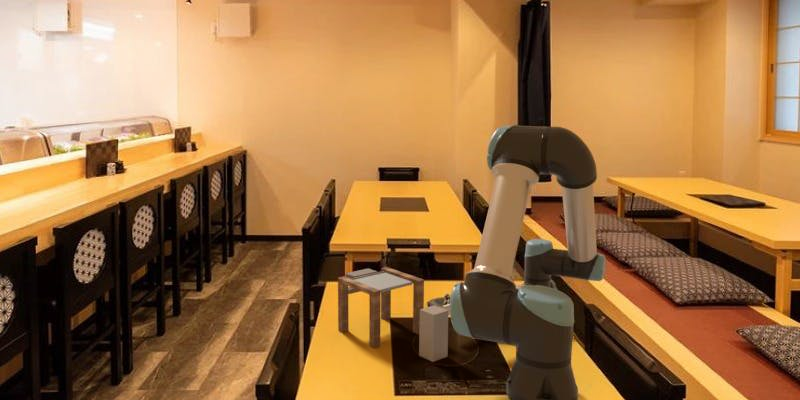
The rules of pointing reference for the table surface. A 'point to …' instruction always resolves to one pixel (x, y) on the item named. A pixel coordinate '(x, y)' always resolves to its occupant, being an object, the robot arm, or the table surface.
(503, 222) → the robot arm
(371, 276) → the flap
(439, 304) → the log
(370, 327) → the trapdoor frame
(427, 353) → the granite block
